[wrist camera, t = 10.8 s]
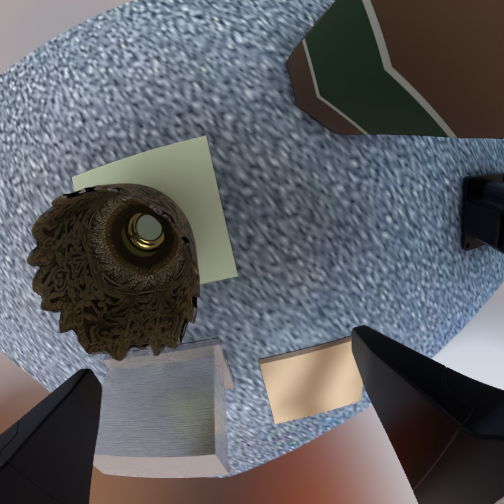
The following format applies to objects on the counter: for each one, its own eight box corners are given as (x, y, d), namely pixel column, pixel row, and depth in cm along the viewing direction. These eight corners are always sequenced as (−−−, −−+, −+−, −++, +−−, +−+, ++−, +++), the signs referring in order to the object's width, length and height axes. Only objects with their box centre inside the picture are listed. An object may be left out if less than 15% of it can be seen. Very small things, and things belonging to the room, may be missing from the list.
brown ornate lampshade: (111, 287, 18) (64, 363, 11) (85, 180, 16) (6, 212, 8) (217, 273, 19) (216, 357, 11) (199, 157, 16) (179, 168, 8)
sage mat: (206, 135, 16) (206, 135, 15) (237, 272, 19) (237, 276, 19) (75, 176, 16) (71, 177, 15) (116, 297, 19) (114, 301, 19)
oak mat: (363, 332, 23) (366, 336, 22) (359, 396, 26) (360, 400, 25) (258, 359, 22) (259, 364, 22) (274, 419, 26) (275, 423, 25)
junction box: (219, 337, 21) (222, 449, 12) (234, 381, 23) (243, 481, 14) (105, 354, 21) (69, 447, 12) (130, 393, 23) (108, 481, 14)
